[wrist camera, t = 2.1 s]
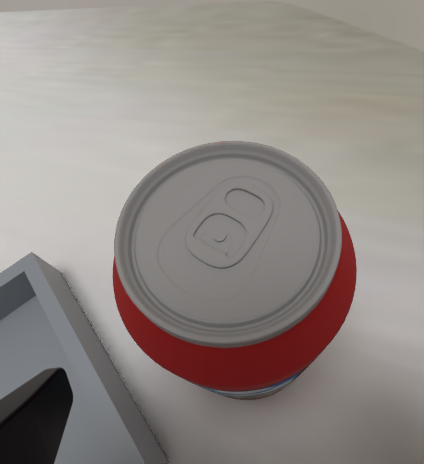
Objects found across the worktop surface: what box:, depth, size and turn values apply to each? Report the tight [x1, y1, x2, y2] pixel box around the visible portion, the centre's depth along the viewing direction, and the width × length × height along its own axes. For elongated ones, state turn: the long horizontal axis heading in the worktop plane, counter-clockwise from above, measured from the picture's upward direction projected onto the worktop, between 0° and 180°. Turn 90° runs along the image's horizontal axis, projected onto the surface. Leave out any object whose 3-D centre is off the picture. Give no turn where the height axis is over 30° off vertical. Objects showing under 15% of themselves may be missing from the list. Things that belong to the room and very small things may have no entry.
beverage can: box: [113, 141, 356, 400], centre depth 13 cm, size 7×7×12 cm
